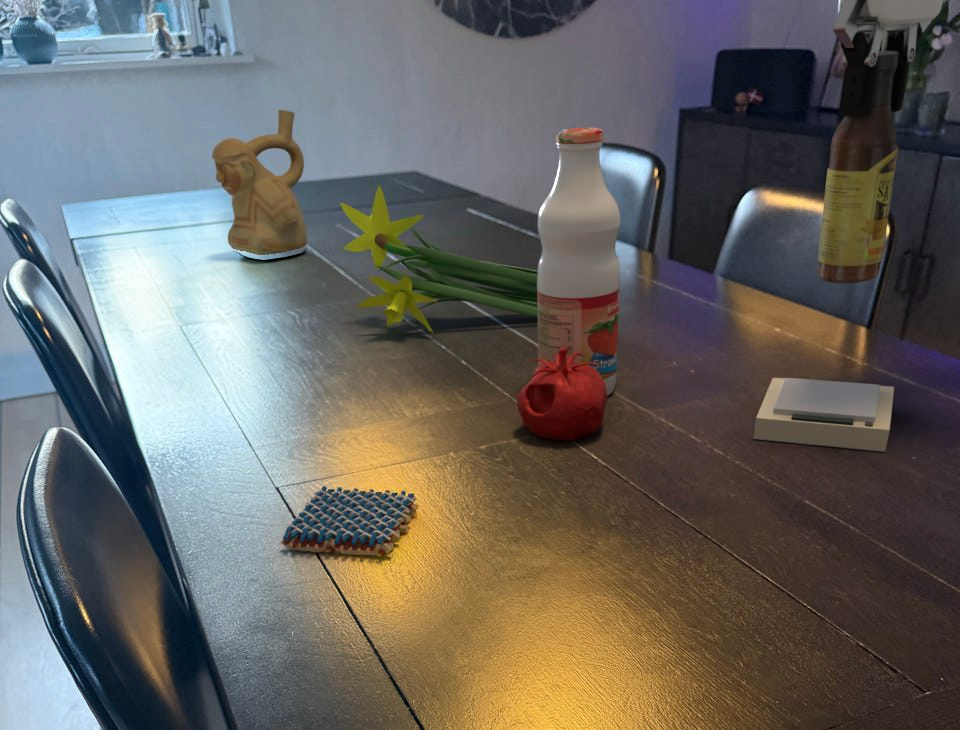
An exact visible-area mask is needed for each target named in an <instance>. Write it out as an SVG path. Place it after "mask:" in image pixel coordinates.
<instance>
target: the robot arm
mask: <svg viewBox="0 0 960 730" xmlns="http://www.w3.org/2000/svg"><path fill="white" fill-rule="evenodd" d="M837 3H838V5H837V15H836V18H835V20H834V22H833V26H832V30H833V33H834V35H835V36H836V38H837V39H838V41H839V42H840V47H841V50H842V52H843V56H842V61H841V63H842V66H843V67H844V72H843V80H842V85H841V86H842V87H841V94H840V100H839V108H838V115H839V116H840V117H843V118H844V117H869V116H871V115H872V112H873V106H874V100H875V94H876V88H877V82H878V76H879V70H880V66H874V65H875V63H876V61H877V57H878V53H879V51H897V52H898V64H897V68H896V71H895V72H894V77H893V85H892V92H891V110H892V113H896V112H900V111H901V110H902V109H903V105H904V100H905V94H906V87H907V84H908V83H907V82H908V77H909V71H910V66H911V62H912V61H913V60H914V59H915V56H916V47H917V44H918V43H919V41H920V39H921V37H922V36H923V33H924V32H925V31H926V30H927V28H928V27H929V26H930V24H931V23H932V22H933V20H934V19H936V17H937V16H938V15H939V14H940V13H941V10H942V7H943V3H944V0H838V2H837ZM896 32H897V34H896ZM866 35H869V39H867V37H866ZM880 49H881V50H880Z"/></svg>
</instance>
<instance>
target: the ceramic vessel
mask: <svg viewBox="0 0 960 730" xmlns="http://www.w3.org/2000/svg"><path fill="white" fill-rule="evenodd" d="M277 115H278V116H277V118H278V119H277V121H278V122H277V133H275V134H263V135H259V136H257V137H254V138H252V139H250V140H248V141H246V142H244V141H243V140H242V139H239V138H234V137H229V138H225V139H222V140H220V141H219V142H218V143H217V144H216V145H215V146H214V148H213V150H212V153H211V159H213V160H214V164H215V165H214V166H215V169H216V174H215V179H216V181H217V182H218V183H221V187H222V188H223V189H224V191H226V192H227V193H228V195H230V196H231V207H232V212H233V223H232V225H231V227H230V228H229V229H228V233H227V243H228V245H229V246H230V247H231V249H232V248H233V249H236V250H240V251H246V252H249V253H253V254H257V255H266V254H267V255H269V254H276V253H282V252H287V251H292V250H295V249H299V248H302V247H304V246H306V245H307V244H308V233H307V232H308V231H307V226H306V221H305V217H304V214H303V211H302V208H301V206H300V203H299V201H298V199H297V197H296V195H295V194H294V192H293V191H292V188H293V187H294V186H296V185H297V184H298V182H299V181H300V179H301V178H302V176H303V173H304V169H305V159H304V155H303V151H302V149H301V147H300V146H299V144H298V143H297V142H296V140H295V139H293V128H294V127H293V126H294V119H295V112H293V111H291V110H286V109H278V110H277ZM272 149H280V150H283V151H285V152H287V154H288V155H289V158H290V159H289V160H290V164H289V167H288V170H287V171H285V173H283V174H280V175H275V174H274V173H273V172H271V171H270V170H269V169H268V168H266V167H265V166H264V165H263V164H262V163H261V162H260V161H259V159H258V156H259V155H260V154H261V153H263V152H265V151H266V150H272ZM306 247H307V246H306ZM233 249H232V250H233Z"/></svg>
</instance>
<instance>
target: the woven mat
mask: <svg viewBox="0 0 960 730" xmlns="http://www.w3.org/2000/svg"><path fill="white" fill-rule="evenodd" d="M313 494H314V496H311V499H310V501H309V500H307V501H306V503H305V505H304V506H305V507H304V508H303V509H302V511H300V512H299V513H298V515H297V516H296V517H295V518H294V519H293V520H292V522H291V524H289V525H288V526H287V527H286V529H285V530H284V535H283V537H282V540H281V541H280V544H282V545H283V547H285V548H287V549H288V550H292V551H294V550H299V551H298V552H306V551H311V552H310V553H322V552H326V551H334V550H335V551H336V552H338V553H341V554H342V555H350V556H351V555H352V556H353V555H355V556H356V555H357V556H377V555H388V554H389V553H390V552H391V551H393V550H394V547H395V546H394V543H395V542H397V541H398V540H399V539H400V537H401V533H400V532H404V533H407V532H409V526H408V525H407V524H408V523H410V522H411V521H412V516H411V515H413V514H415V513H416V512H417V511H416V510H417V509H419V505H418V504H416V503H415V502H416V501H417V500H418V498H417V497H416V496H415V493H408V494H407V493H406V490H401V492H400V494H399V492H391V491H390V490H389V489H385V491H384V492H383V491H375V490H374V489H373V488H372V489H371V488H370V489H369V491H367V490H359V489H358V488H353V489H352V490H350V489H344V490H343V488H342V487H341V486H340V487H339V486H338V487H337V489H336V491H335V489H334V488H328V489H327V486H322V487H321V490H318V491H315V492H314V493H313ZM406 494H407V495H406ZM409 521H410V522H409ZM392 549H393V550H392Z"/></svg>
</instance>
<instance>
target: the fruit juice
mask: <svg viewBox="0 0 960 730" xmlns="http://www.w3.org/2000/svg"><path fill="white" fill-rule="evenodd" d="M603 141H604V132H603V129H602V128H599V127H573V128H566V129H565V128H563V129H560V130H557V131H556V137H555V143H556V149H557V150H558V152H559V157H558V165H557V170H556V175H555V179H554V182H553V185H552V188H551V190H550V191H549V194H548V195H547V197H546V198H545V199H544V200H543V202H542V204H541V206H540V208H539V211H538V216H537V232H538V236H539V240H540V245H541V255H540V257H539V261H538V265H537V270H538V272H537V274H536V275H537V302H538V317H537V359H544V360H546V361H548V362H551V361H552V362H556V357H555V356H553V355H555V354H559V352H558V351H559V348H561V347H563V346H565V347H567V348H568V352H567V354H566V359H568V358H569V357H570V356H571V355H573V354H574V353H576V352H577V353H579V354H581V355H584V356H576V357H575V359H574V360H573V362H574V363H577V364H582V363H587V362H592V363H595V364H600V365H598V366H596V365H590V364H588V365H589V366H591V367H593V368H595V369H596V370H597V371H598V372H599V373H600V375H601V377H602V379H603V381H604V383H605V386H606V391H607V397H608V396H610V395H611V394H612V393H613V392H614V390H615V389H616V384H617V373H618V372H617V371H618V370H617V369H618V341H619V340H618V339H619V313H620V311H619V310H620V309H619V308H620V307H619V306H620V285H621V284H620V283H621V275H620V274H621V271H620V261H619V257H618V255H617V252H616V243H617V239H618V235H619V232H620V228H621V211H620V208H619V204H618V203H617V200H616V199H615V198H614V196H613V195H612V193H611V192H610V190H609V189H608V187H607V185H606V182H605V178H604V174H603V170H602V166H601V160H600V152H601V151H600V150H601V148H602V147H603ZM537 363H538V364H537V366H538V365H540V364H544V363H542V362H540V361H537Z"/></svg>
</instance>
